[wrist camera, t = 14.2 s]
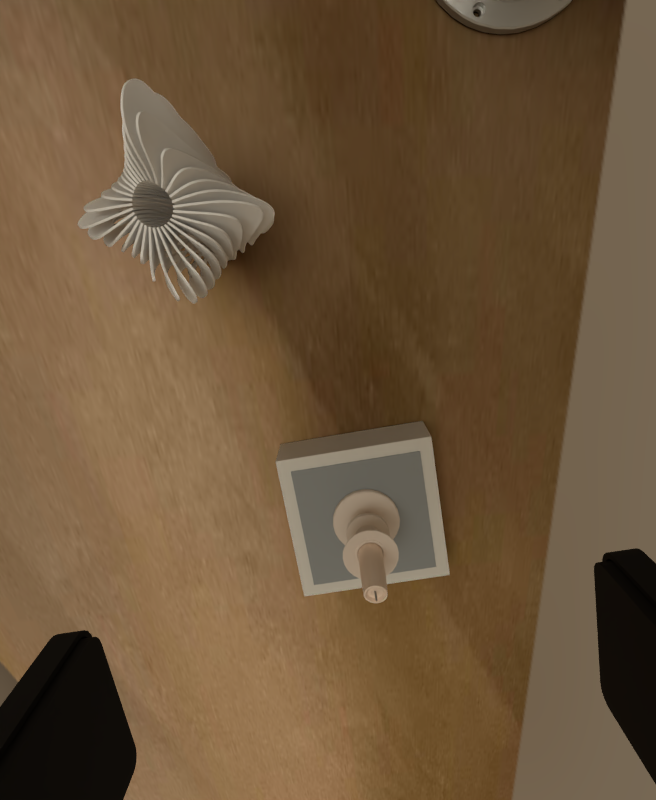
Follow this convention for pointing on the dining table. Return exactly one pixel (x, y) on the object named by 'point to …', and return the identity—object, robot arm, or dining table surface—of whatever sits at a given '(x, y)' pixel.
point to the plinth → (355, 470)
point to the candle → (368, 539)
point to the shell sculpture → (173, 197)
